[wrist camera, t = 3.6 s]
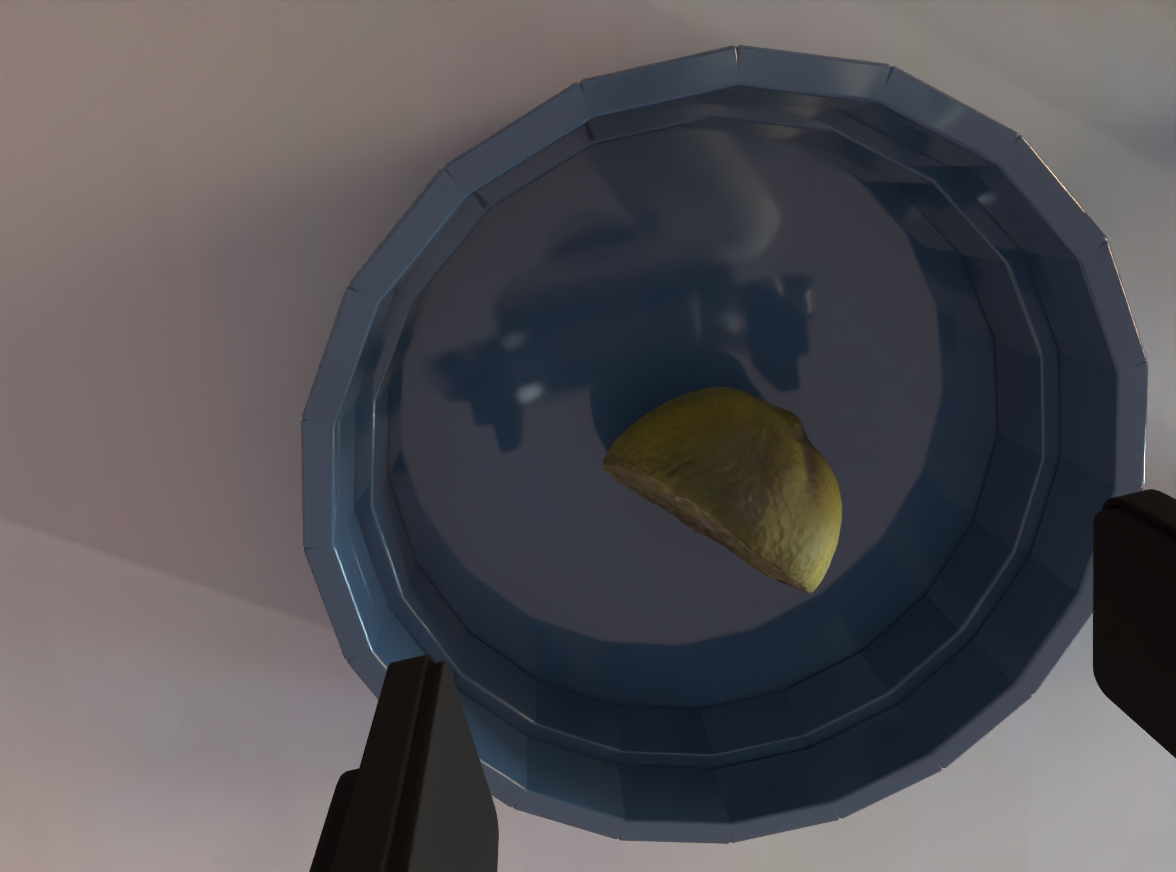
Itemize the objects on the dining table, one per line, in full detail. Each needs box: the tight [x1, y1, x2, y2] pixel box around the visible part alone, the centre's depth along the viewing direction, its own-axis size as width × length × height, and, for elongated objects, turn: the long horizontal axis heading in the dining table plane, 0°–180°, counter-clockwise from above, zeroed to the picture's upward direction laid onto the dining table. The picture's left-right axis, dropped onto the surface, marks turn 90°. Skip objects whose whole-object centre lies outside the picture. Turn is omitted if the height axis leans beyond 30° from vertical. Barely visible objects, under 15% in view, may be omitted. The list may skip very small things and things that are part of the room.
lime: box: [603, 387, 842, 594], centre depth 16 cm, size 4×5×5 cm
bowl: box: [301, 45, 1148, 844], centre depth 17 cm, size 16×16×4 cm
